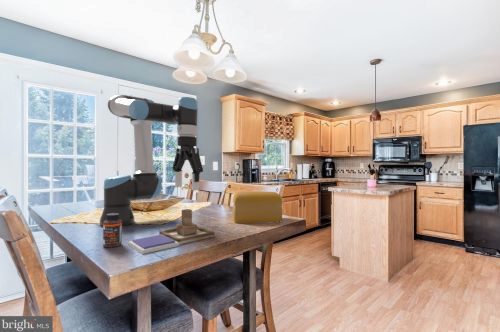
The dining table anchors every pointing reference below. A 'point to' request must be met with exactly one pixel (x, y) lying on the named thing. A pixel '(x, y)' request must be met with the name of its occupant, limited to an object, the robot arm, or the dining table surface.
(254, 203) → the bread
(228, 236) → the dining table surface
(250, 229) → the dining table surface
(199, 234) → the print board
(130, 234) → the dining table surface
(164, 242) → the ink pad
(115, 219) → the supplement bottle
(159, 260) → the dining table surface
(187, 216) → the stamp
